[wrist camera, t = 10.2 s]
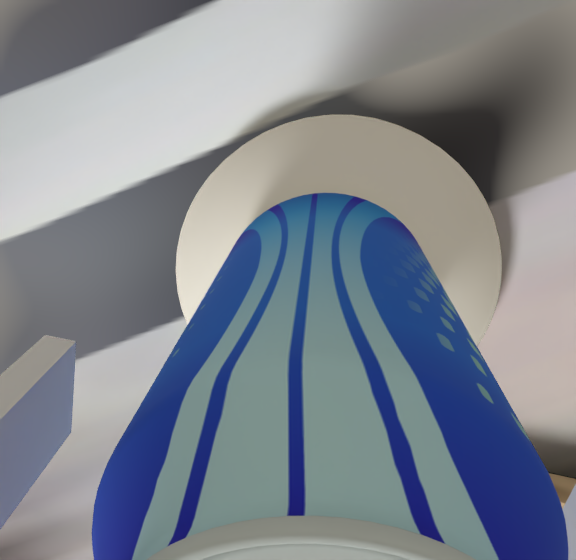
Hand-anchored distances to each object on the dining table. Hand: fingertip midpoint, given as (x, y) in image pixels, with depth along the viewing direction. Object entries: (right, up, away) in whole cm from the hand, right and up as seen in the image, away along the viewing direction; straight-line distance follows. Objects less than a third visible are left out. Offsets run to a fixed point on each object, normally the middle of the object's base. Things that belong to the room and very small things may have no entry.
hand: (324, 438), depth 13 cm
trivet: (+1, +4, +10) cm, 11 cm away
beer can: (+1, +4, +9) cm, 10 cm away
